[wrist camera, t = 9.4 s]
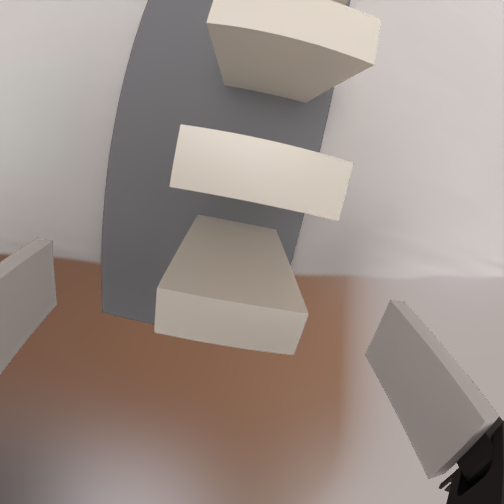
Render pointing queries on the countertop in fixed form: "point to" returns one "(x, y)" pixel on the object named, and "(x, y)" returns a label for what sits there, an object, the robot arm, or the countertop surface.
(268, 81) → the domino
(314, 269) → the countertop surface
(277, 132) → the mat
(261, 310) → the domino
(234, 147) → the domino
